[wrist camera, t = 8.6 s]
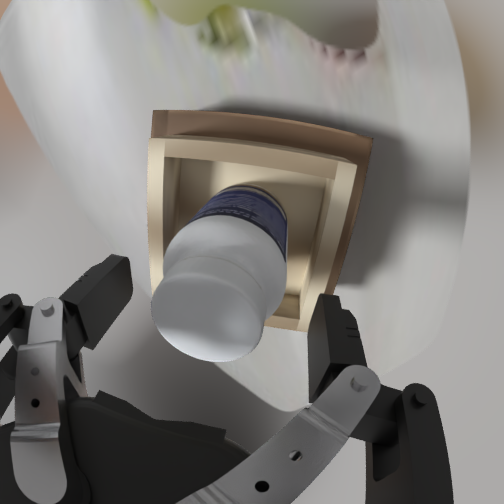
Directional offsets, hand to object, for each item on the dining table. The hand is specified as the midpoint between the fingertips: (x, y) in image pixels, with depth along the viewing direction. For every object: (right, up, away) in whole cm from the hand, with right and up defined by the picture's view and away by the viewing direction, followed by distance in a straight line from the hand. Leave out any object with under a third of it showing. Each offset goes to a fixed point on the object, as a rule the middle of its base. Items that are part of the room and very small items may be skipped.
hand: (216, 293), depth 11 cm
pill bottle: (+1, +4, +7) cm, 8 cm away
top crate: (+1, +4, +8) cm, 8 cm away
